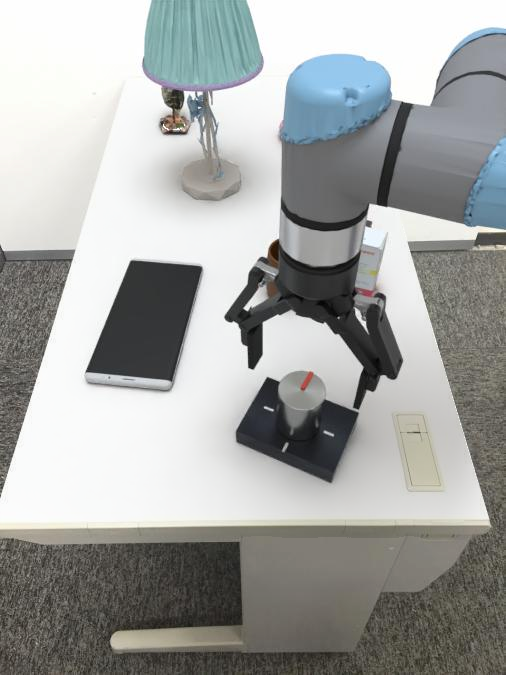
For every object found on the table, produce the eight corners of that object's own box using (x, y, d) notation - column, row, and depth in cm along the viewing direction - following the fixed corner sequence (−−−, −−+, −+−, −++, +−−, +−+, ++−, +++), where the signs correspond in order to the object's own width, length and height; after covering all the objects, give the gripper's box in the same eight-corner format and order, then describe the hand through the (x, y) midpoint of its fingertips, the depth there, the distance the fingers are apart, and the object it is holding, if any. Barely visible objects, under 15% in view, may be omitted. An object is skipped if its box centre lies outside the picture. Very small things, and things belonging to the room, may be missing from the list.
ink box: (377, 283, 94) (390, 230, 85) (370, 302, 91) (383, 249, 82) (330, 271, 96) (338, 217, 87) (322, 289, 93) (329, 235, 84)
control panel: (356, 423, 75) (359, 411, 73) (331, 484, 70) (333, 473, 67) (266, 387, 79) (267, 375, 77) (235, 442, 73) (235, 430, 71)
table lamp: (151, 165, 118) (116, -52, 88) (244, 149, 122) (241, -64, 92) (173, 223, 105) (139, -9, 74) (276, 202, 109) (285, -25, 79)
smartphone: (204, 269, 96) (203, 262, 95) (171, 392, 79) (170, 386, 77) (132, 263, 97) (130, 256, 96) (84, 384, 80) (81, 377, 78)
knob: (309, 448, 70) (314, 416, 64) (268, 429, 71) (270, 396, 65) (327, 413, 73) (333, 380, 67) (287, 396, 75) (290, 362, 69)
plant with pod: (196, 114, 133) (189, 26, 118) (186, 137, 126) (177, 47, 110) (164, 111, 134) (153, 24, 118) (153, 135, 126) (139, 45, 111)
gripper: (467, 256, 47) (415, 393, 63) (219, 188, 54) (229, 326, 71) (448, 313, 43) (397, 444, 59) (181, 230, 50) (201, 367, 66)
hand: (305, 380), depth 65 cm, fingers open, 13 cm apart
